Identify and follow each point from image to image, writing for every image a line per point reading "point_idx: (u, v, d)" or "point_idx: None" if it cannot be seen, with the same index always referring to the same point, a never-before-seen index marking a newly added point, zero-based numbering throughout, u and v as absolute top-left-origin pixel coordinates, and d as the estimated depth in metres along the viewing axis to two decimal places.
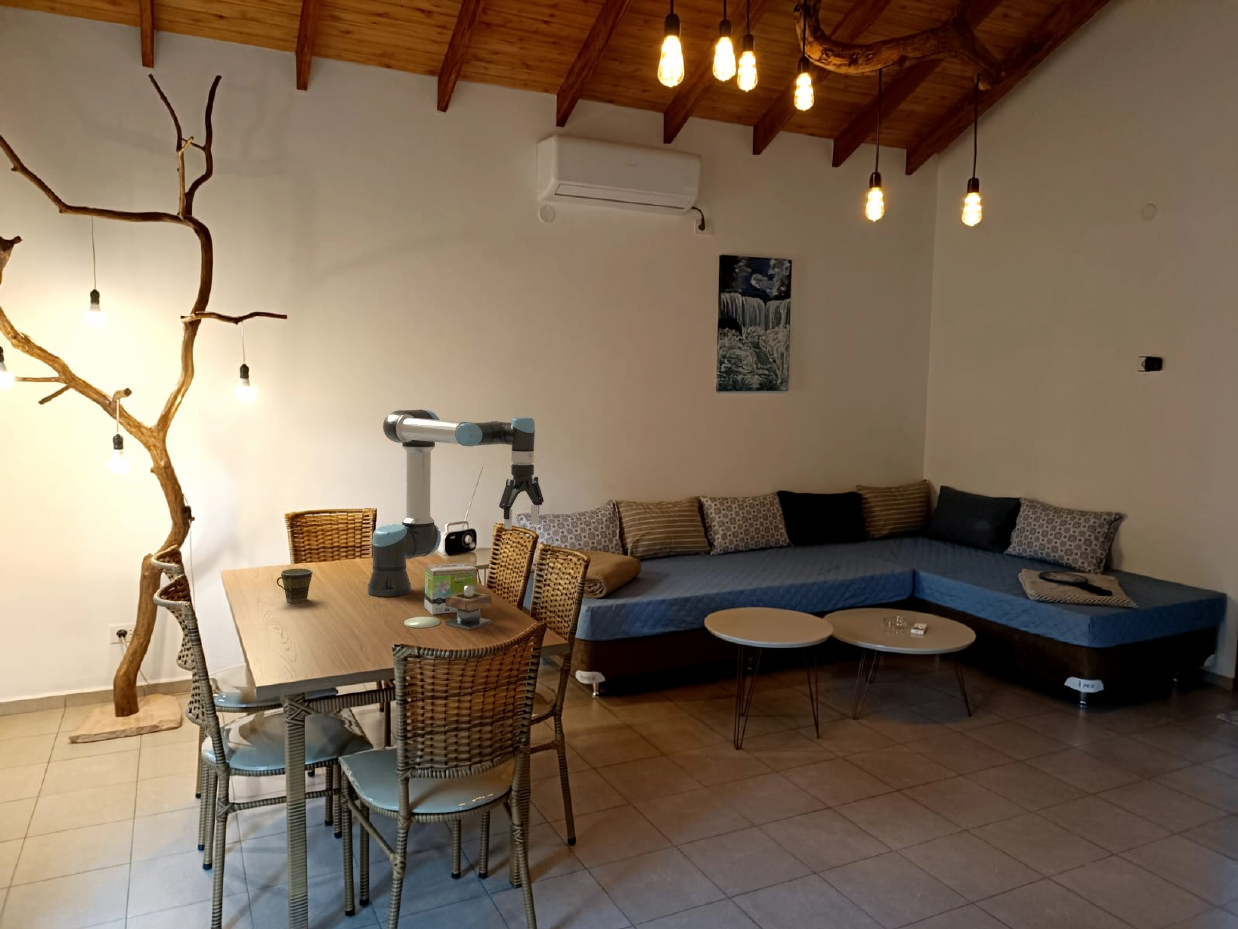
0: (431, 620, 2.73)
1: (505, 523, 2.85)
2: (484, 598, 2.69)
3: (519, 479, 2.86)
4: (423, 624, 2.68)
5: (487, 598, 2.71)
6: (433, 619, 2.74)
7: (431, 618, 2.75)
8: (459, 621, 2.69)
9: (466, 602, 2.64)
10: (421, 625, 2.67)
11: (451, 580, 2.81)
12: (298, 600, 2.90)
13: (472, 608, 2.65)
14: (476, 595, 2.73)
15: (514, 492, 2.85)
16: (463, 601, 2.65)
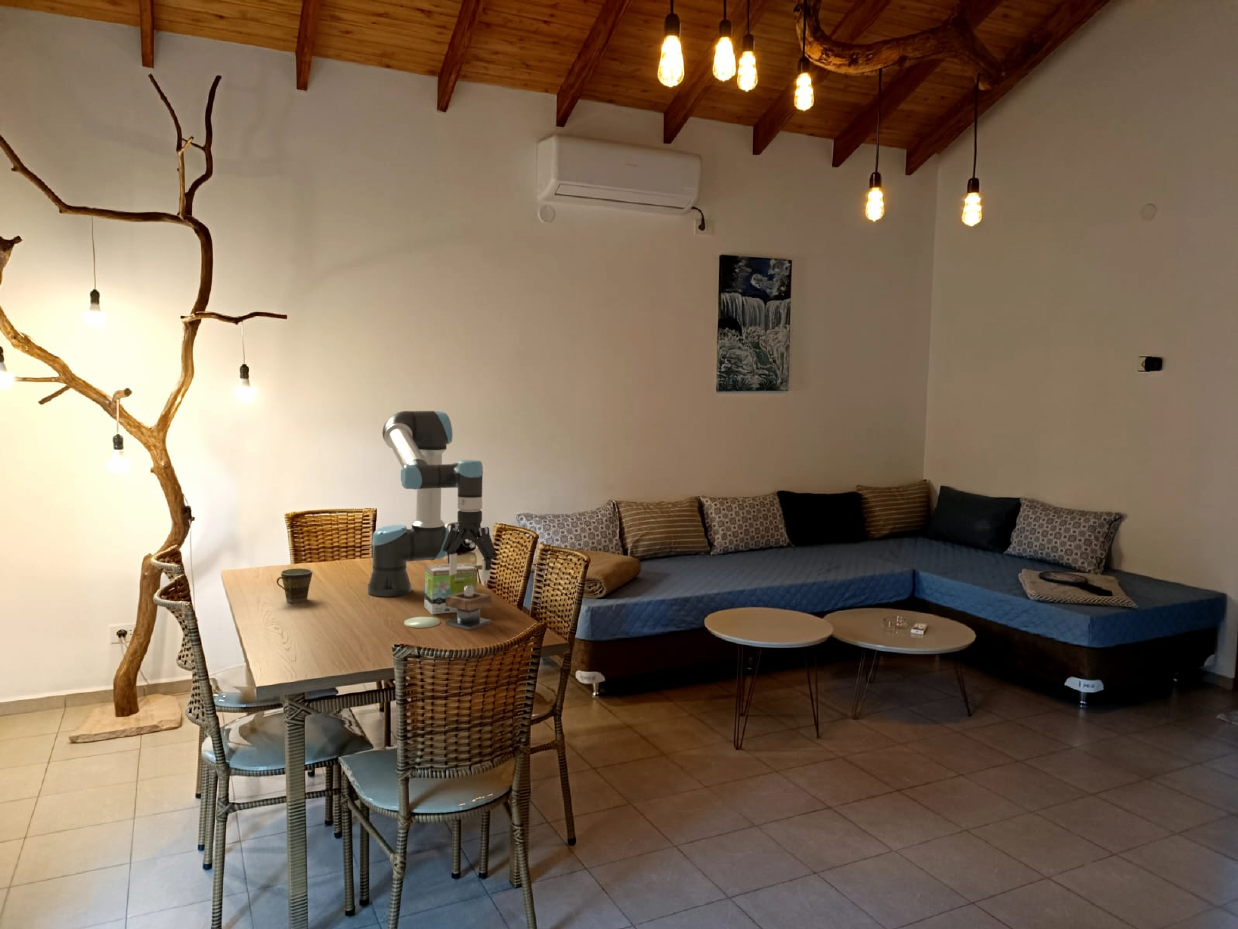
0: (431, 620, 2.73)
1: None
2: (484, 598, 2.69)
3: (460, 525, 2.69)
4: (423, 624, 2.68)
5: (487, 598, 2.71)
6: (433, 619, 2.74)
7: (431, 618, 2.75)
8: (459, 621, 2.69)
9: (466, 602, 2.64)
10: (421, 625, 2.67)
11: (451, 580, 2.81)
12: (298, 600, 2.90)
13: (472, 608, 2.65)
14: (476, 595, 2.73)
15: None
16: (463, 601, 2.65)
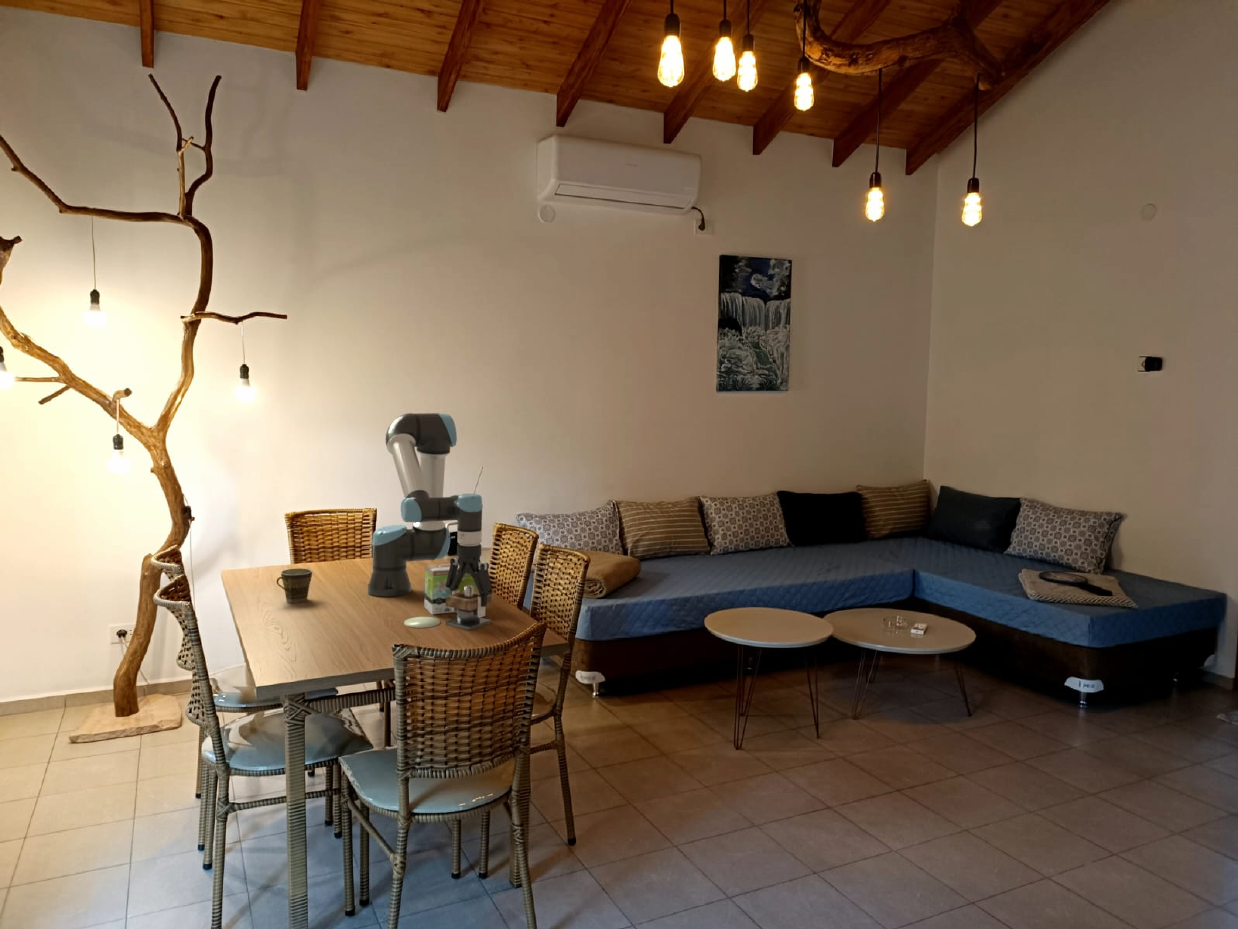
0: (431, 620, 2.73)
1: None
2: None
3: (459, 558, 2.70)
4: (423, 624, 2.68)
5: (487, 598, 2.71)
6: (433, 619, 2.74)
7: (431, 618, 2.75)
8: (459, 621, 2.69)
9: (466, 602, 2.64)
10: (421, 625, 2.67)
11: None
12: (298, 600, 2.90)
13: (472, 608, 2.65)
14: (476, 595, 2.73)
15: None
16: (463, 601, 2.65)
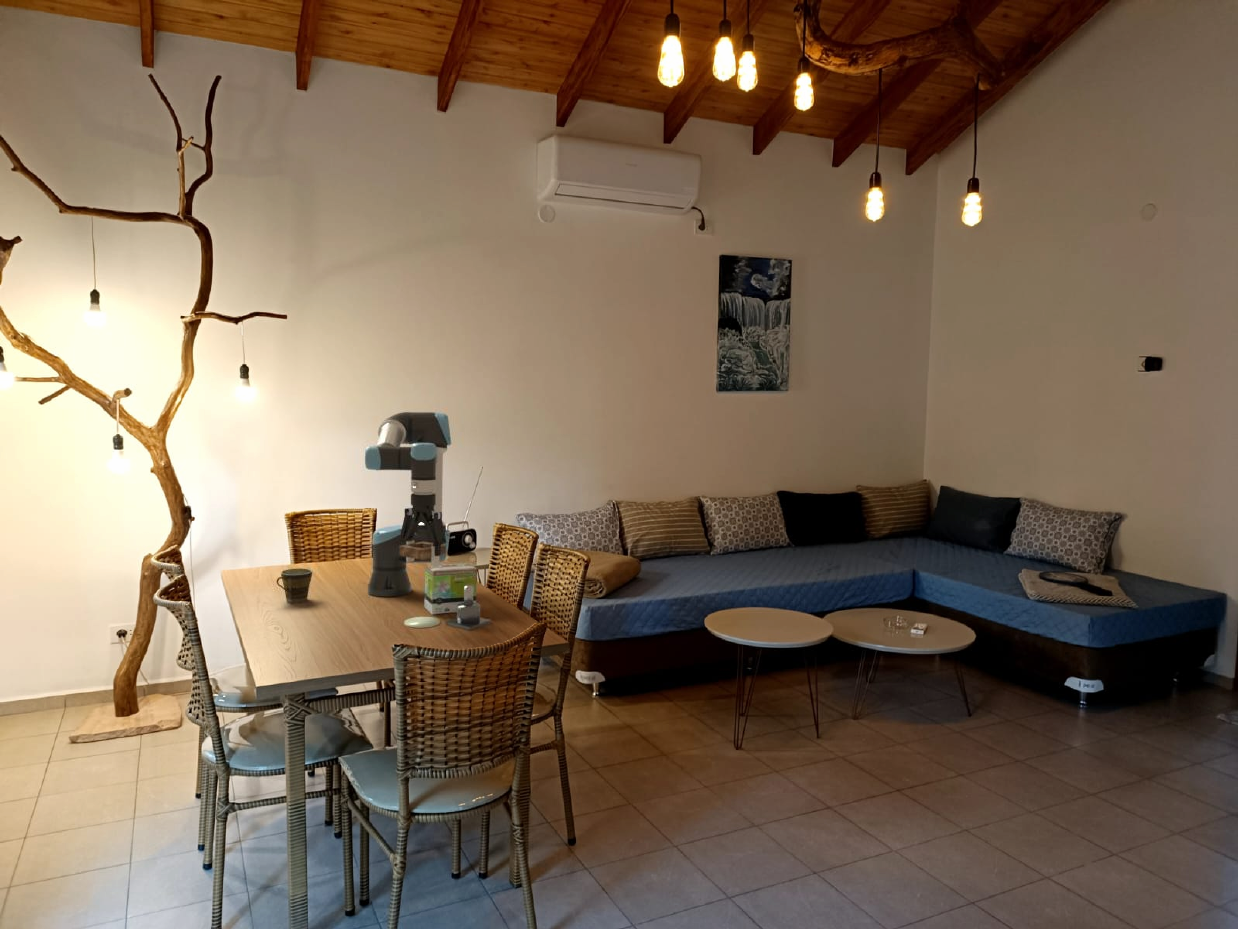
0: (431, 620, 2.73)
1: None
2: None
3: (413, 508, 2.68)
4: (423, 624, 2.68)
5: (441, 548, 2.69)
6: (433, 619, 2.74)
7: (431, 618, 2.75)
8: (459, 621, 2.69)
9: (419, 551, 2.62)
10: (421, 625, 2.67)
11: (451, 580, 2.81)
12: (298, 600, 2.90)
13: (425, 557, 2.63)
14: (431, 545, 2.71)
15: None
16: (416, 550, 2.63)
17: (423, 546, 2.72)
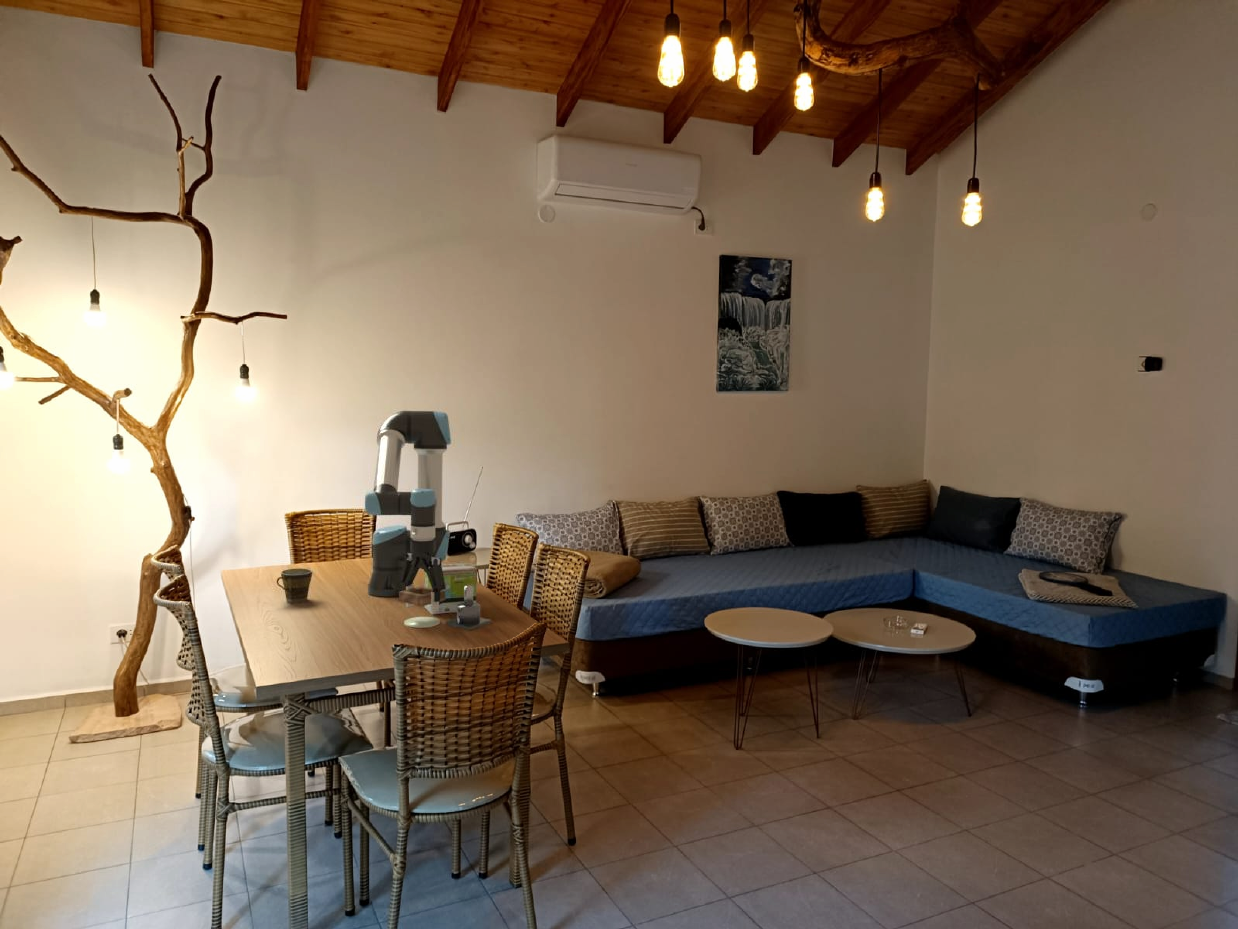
0: (431, 620, 2.73)
1: None
2: None
3: (413, 554, 2.69)
4: (423, 624, 2.68)
5: (441, 593, 2.70)
6: (433, 619, 2.74)
7: (431, 618, 2.75)
8: (459, 621, 2.69)
9: (419, 597, 2.64)
10: (421, 625, 2.67)
11: (451, 580, 2.81)
12: (298, 600, 2.90)
13: (425, 603, 2.64)
14: (430, 590, 2.72)
15: None
16: (416, 596, 2.64)
17: (423, 591, 2.74)
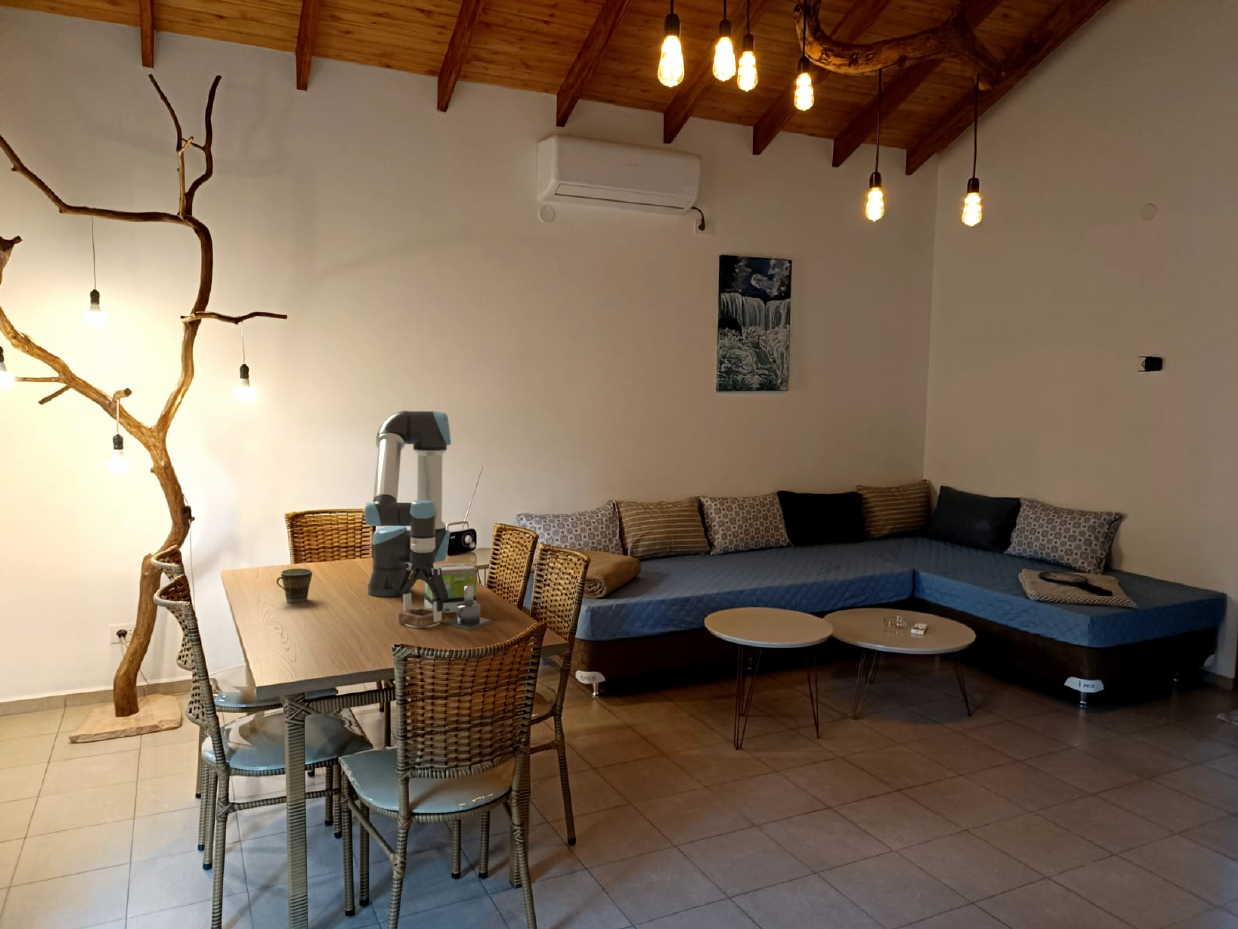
0: None
1: None
2: None
3: (413, 565, 2.70)
4: None
5: None
6: None
7: None
8: (459, 621, 2.69)
9: (418, 619, 2.65)
10: None
11: (451, 580, 2.81)
12: (298, 600, 2.90)
13: (424, 625, 2.65)
14: (430, 611, 2.73)
15: None
16: (416, 618, 2.65)
17: (422, 612, 2.75)
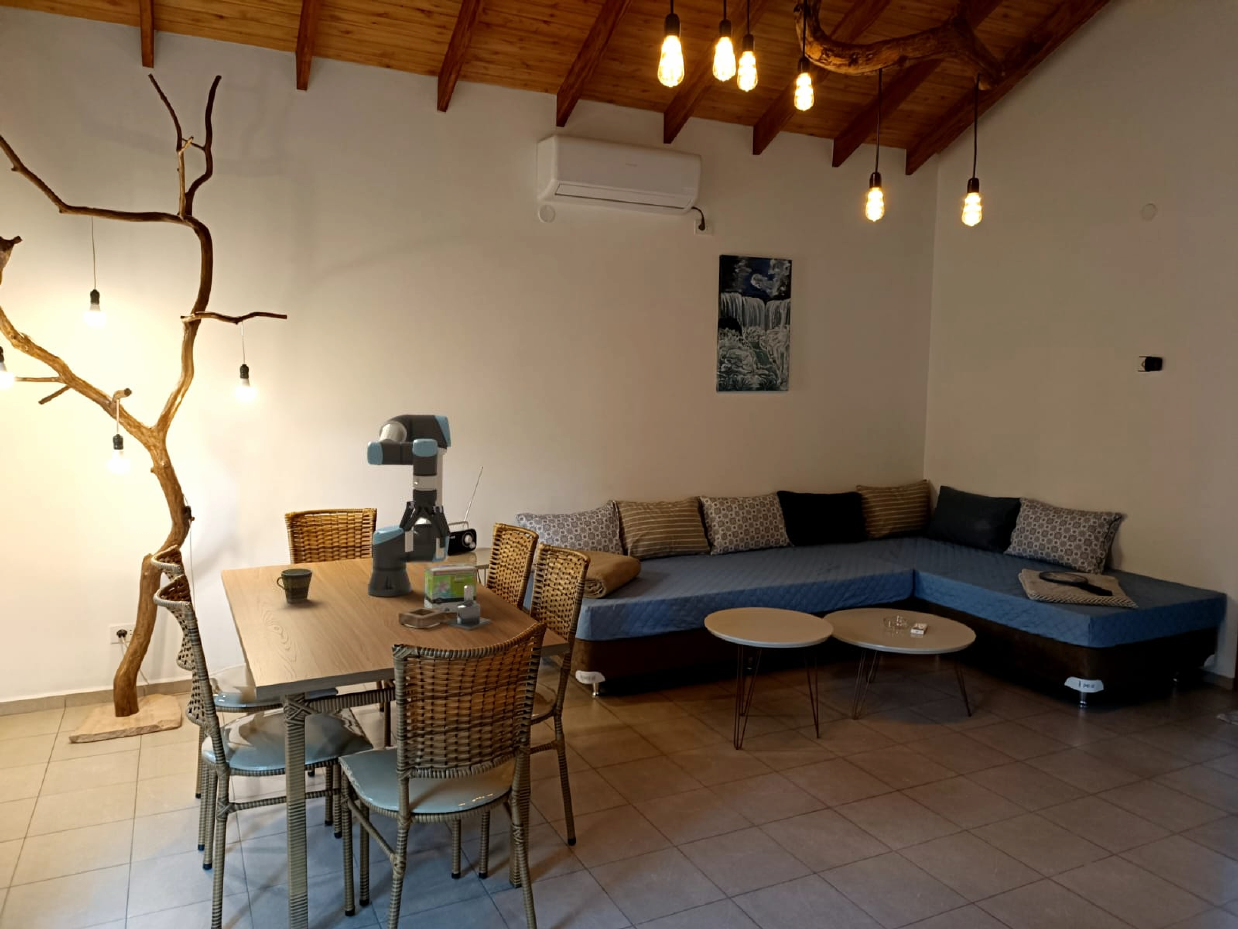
0: None
1: None
2: (437, 615, 2.69)
3: (415, 503, 2.72)
4: None
5: (440, 614, 2.71)
6: None
7: None
8: (459, 621, 2.69)
9: (418, 619, 2.65)
10: None
11: (451, 580, 2.81)
12: (298, 600, 2.90)
13: (424, 625, 2.65)
14: (430, 611, 2.73)
15: None
16: (416, 618, 2.65)
17: (422, 612, 2.75)
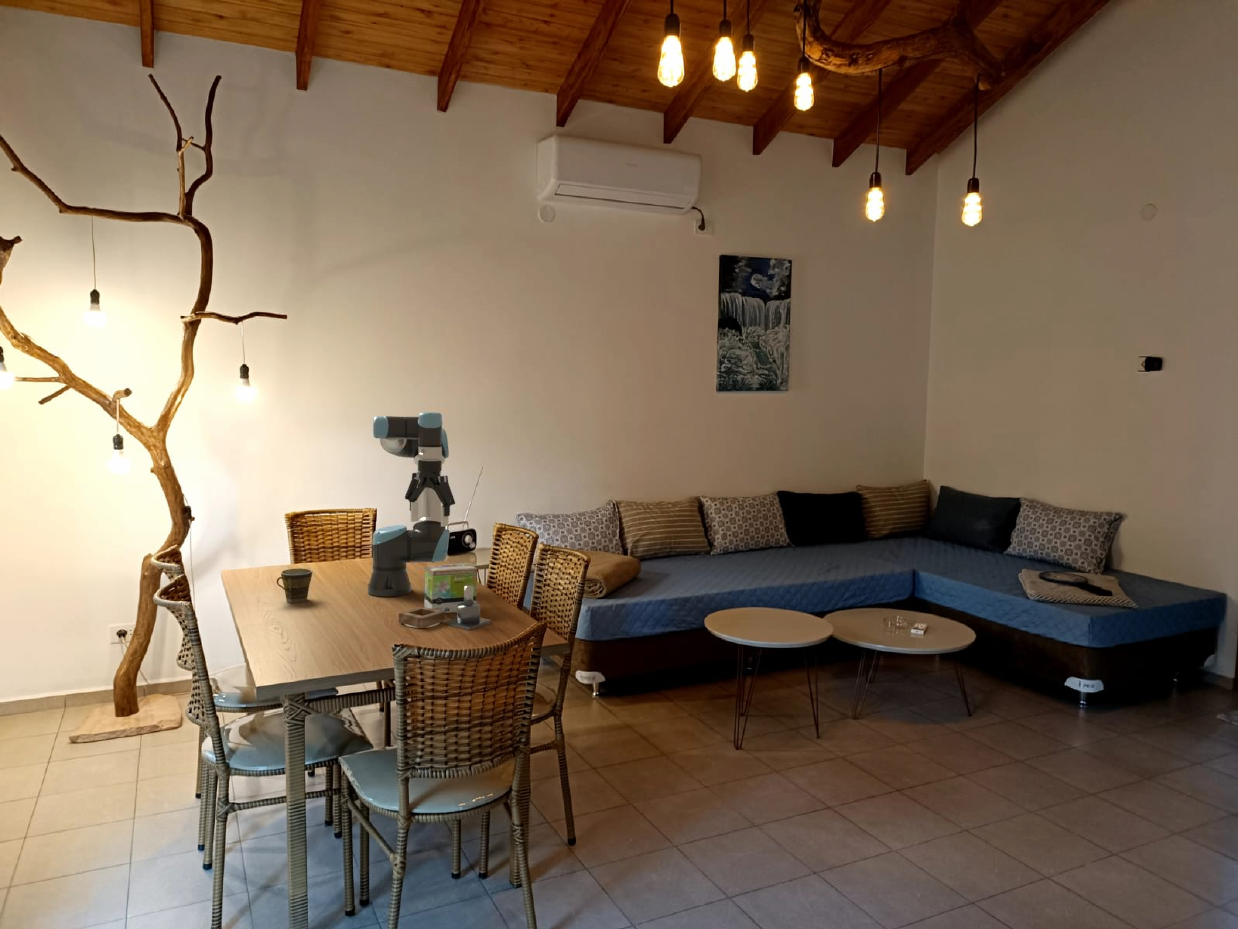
0: None
1: None
2: (437, 615, 2.69)
3: (421, 474, 2.83)
4: None
5: (440, 614, 2.71)
6: None
7: None
8: (459, 621, 2.69)
9: (418, 619, 2.65)
10: None
11: (451, 580, 2.81)
12: (298, 600, 2.90)
13: (424, 625, 2.65)
14: (430, 611, 2.73)
15: None
16: (416, 618, 2.65)
17: (422, 612, 2.75)
